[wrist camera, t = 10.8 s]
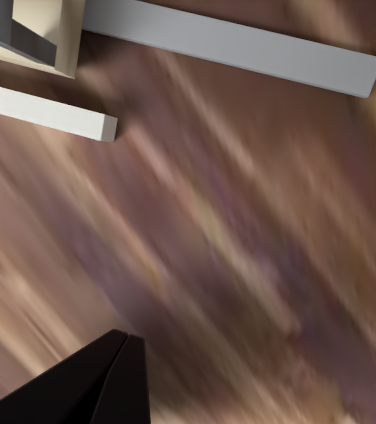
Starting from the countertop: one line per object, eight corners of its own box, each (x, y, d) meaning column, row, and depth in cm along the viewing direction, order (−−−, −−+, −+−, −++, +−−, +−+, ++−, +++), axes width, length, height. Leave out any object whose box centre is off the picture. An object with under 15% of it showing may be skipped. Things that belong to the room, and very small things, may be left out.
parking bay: (325, 198, 17) (346, 208, 14) (-90, 87, 19) (-147, 76, 16) (430, -70, 14) (486, -129, 11) (-92, -176, 15) (-166, -252, 12)
